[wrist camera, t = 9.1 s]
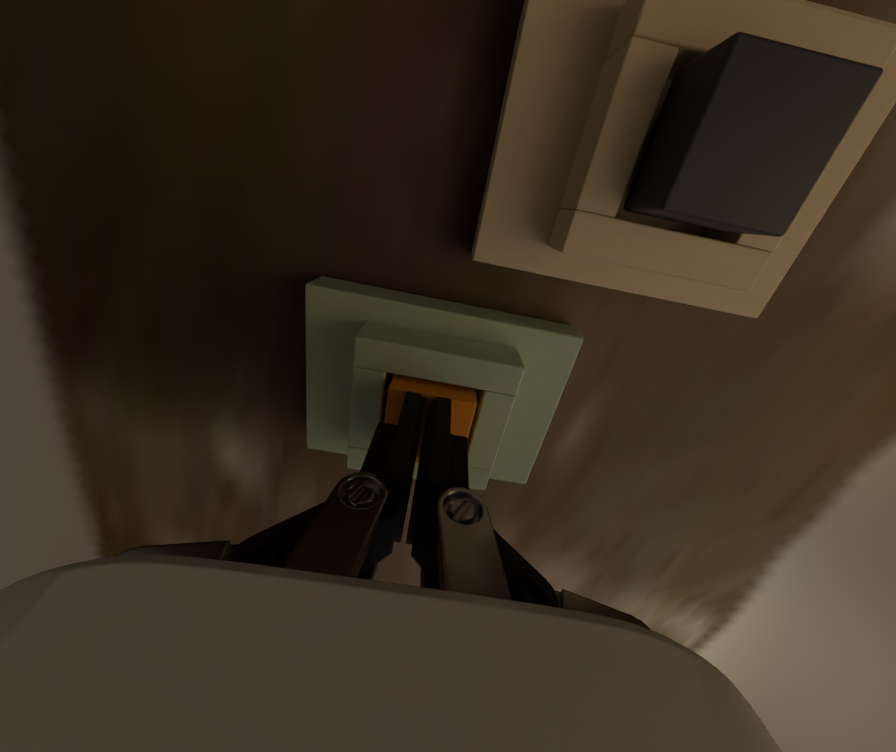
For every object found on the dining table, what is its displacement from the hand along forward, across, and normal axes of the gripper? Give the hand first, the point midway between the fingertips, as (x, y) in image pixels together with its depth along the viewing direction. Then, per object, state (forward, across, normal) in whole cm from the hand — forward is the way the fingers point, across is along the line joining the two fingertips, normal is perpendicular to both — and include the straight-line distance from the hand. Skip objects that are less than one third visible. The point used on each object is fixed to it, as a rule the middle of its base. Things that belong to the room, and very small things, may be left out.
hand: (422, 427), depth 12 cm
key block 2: (+4, -6, -10) cm, 12 cm away
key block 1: (+4, 0, 0) cm, 4 cm away
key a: (+1, -6, -10) cm, 12 cm away
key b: (+2, 0, 0) cm, 2 cm away
